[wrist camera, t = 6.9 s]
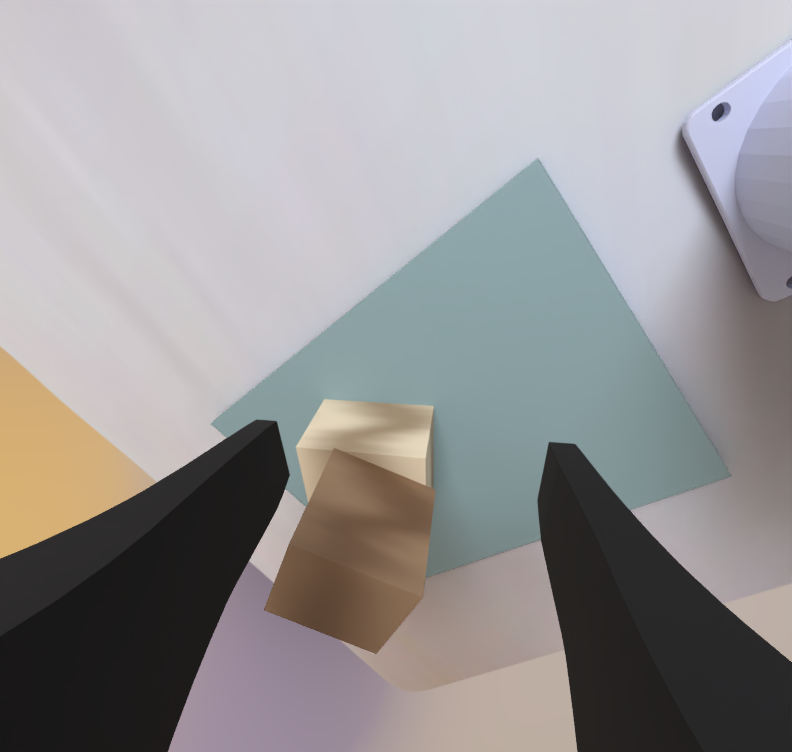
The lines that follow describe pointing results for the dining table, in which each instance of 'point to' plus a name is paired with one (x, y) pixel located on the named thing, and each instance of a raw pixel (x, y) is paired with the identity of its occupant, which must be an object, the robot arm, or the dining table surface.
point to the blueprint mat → (500, 374)
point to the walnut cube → (356, 554)
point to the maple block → (370, 439)
